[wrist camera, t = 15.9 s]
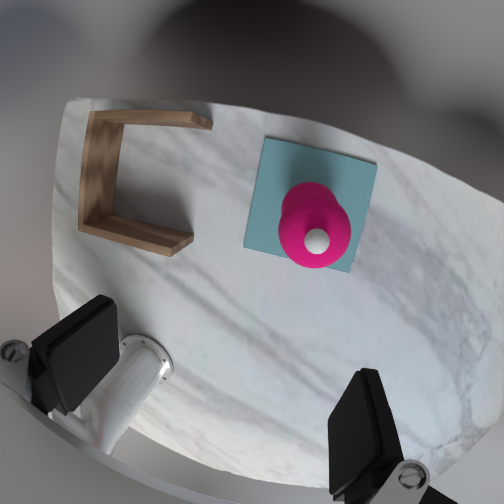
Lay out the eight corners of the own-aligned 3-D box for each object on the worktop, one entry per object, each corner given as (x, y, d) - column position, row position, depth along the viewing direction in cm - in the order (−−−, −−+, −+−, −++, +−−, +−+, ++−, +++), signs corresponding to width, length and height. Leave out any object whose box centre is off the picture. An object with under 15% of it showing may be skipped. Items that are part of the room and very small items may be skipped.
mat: (348, 271, 39) (349, 272, 38) (244, 246, 41) (243, 247, 40) (376, 165, 34) (377, 165, 33) (265, 138, 36) (265, 137, 35)
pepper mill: (272, 202, 37) (242, 233, 19) (313, 170, 35) (328, 167, 16) (304, 242, 38) (305, 311, 19) (345, 212, 36) (388, 255, 17)
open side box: (192, 241, 42) (170, 257, 34) (107, 220, 44) (78, 230, 36) (213, 122, 36) (192, 111, 28) (120, 117, 38) (90, 111, 30)
